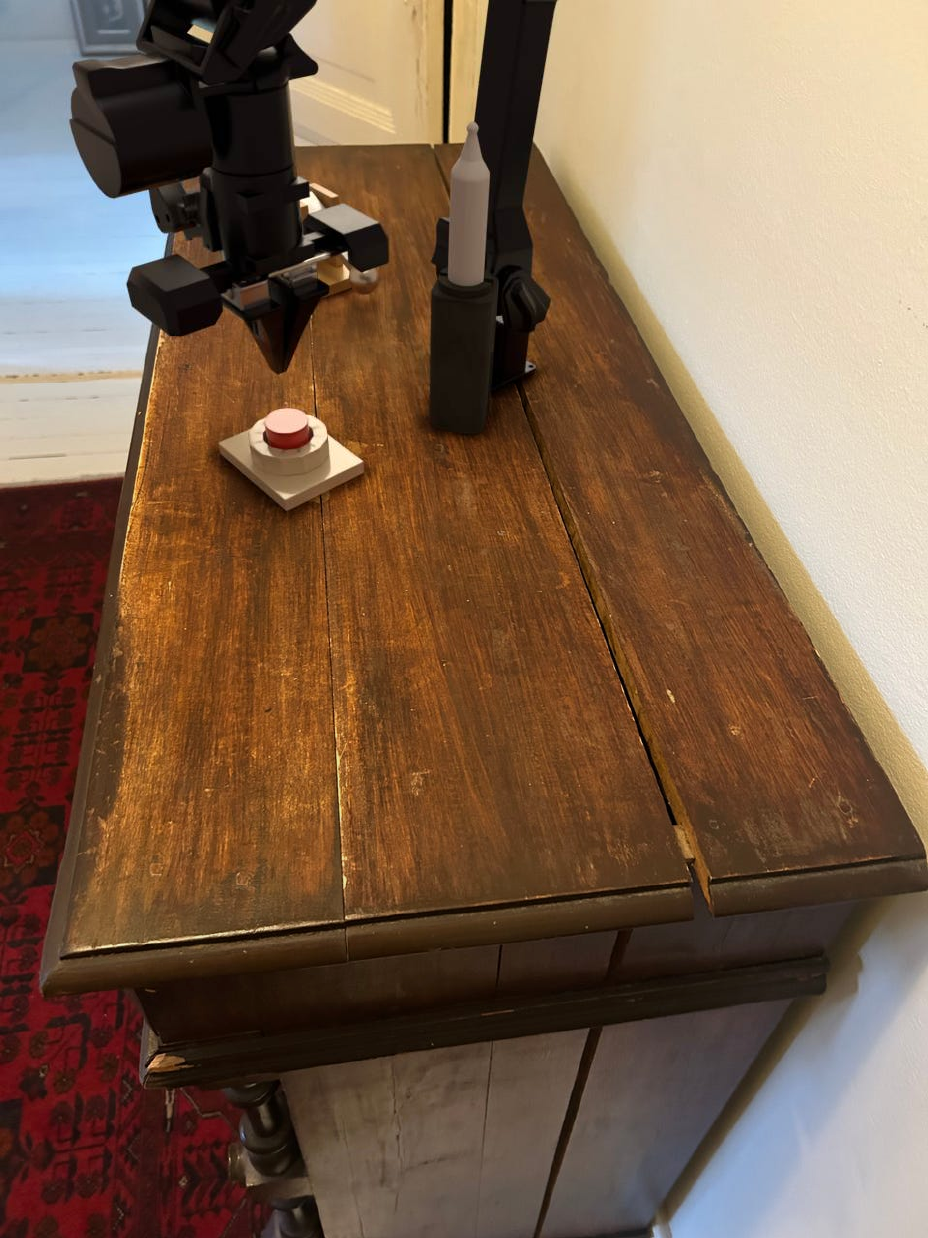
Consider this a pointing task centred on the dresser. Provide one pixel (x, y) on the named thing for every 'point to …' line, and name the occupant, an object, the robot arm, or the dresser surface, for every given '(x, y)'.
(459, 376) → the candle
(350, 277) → the tap lever
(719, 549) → the dresser surface
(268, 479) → the button block
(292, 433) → the button
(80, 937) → the dresser surface
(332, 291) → the tap bracket
